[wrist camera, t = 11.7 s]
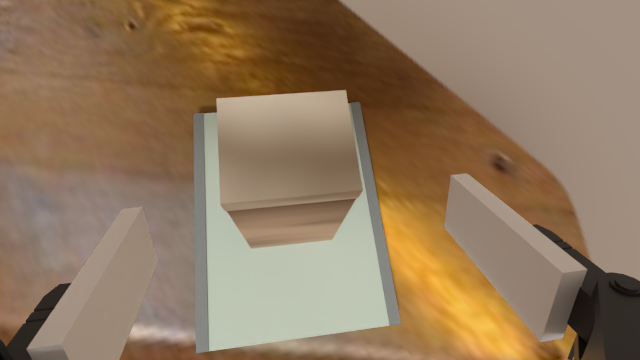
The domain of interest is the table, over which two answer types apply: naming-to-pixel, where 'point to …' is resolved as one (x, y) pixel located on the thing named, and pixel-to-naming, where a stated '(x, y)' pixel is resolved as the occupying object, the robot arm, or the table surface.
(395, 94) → the table surface
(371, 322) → the mat
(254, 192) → the beige block
